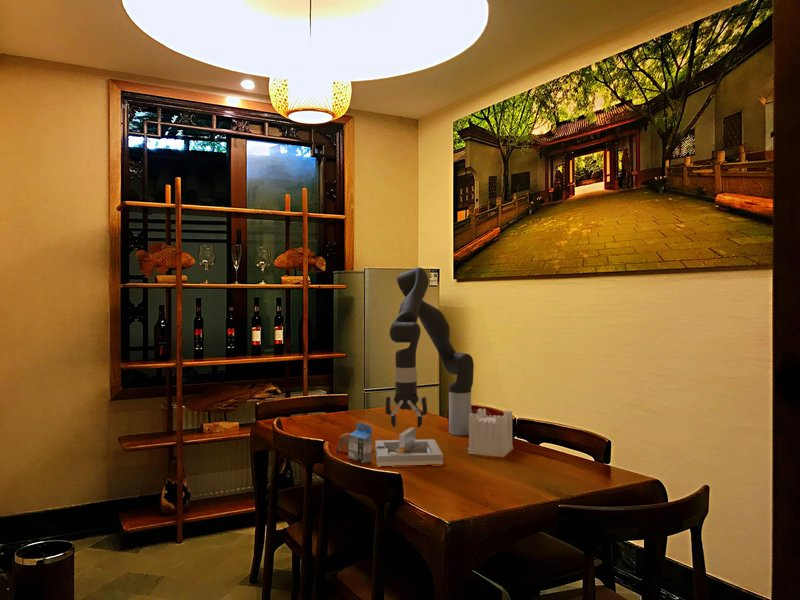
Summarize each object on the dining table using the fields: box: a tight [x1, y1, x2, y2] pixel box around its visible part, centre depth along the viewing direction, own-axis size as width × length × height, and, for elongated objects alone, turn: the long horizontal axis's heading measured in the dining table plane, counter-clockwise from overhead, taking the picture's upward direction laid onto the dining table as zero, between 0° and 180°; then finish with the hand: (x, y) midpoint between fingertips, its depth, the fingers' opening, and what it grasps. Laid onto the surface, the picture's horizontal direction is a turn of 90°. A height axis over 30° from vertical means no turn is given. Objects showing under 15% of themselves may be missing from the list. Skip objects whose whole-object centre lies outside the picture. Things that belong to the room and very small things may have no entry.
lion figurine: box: [335, 427, 373, 454], centre depth 220 cm, size 15×5×9 cm, turn 122°
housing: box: [374, 438, 444, 468], centre depth 211 cm, size 22×22×4 cm
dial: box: [388, 427, 427, 454], centre depth 211 cm, size 14×14×8 cm
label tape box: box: [348, 421, 373, 464], centre depth 208 cm, size 9×4×12 cm, turn 40°
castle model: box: [467, 408, 514, 457], centre depth 218 cm, size 13×15×14 cm
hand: (406, 426), depth 207 cm, fingers open, 8 cm apart
